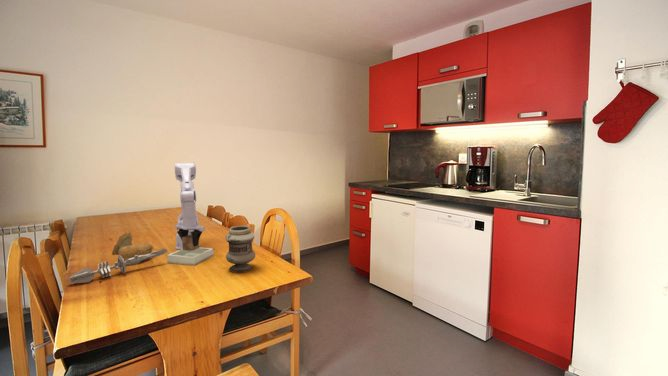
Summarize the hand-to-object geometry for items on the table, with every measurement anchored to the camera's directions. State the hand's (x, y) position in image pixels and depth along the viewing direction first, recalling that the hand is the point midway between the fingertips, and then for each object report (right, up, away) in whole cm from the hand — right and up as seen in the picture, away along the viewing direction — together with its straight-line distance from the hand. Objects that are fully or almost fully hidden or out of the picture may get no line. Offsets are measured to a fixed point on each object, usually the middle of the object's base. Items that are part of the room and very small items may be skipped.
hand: (190, 245), depth 150 cm
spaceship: (-20, -9, -17) cm, 28 cm away
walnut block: (0, -2, 0) cm, 2 cm away
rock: (-39, -5, +12) cm, 42 cm away
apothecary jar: (+27, -8, -11) cm, 30 cm away
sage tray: (0, -7, +1) cm, 6 cm away
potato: (-24, -7, -2) cm, 25 cm away
